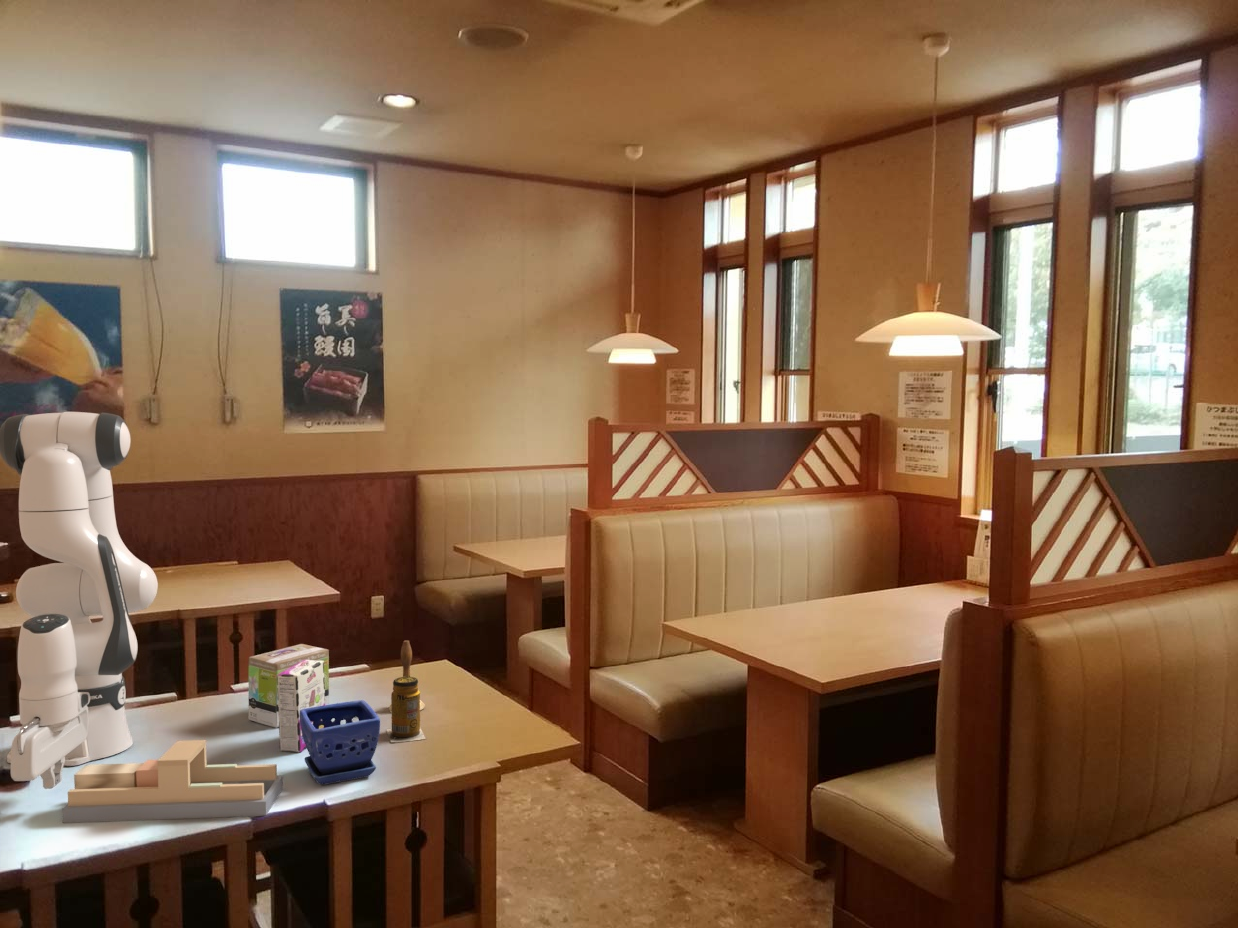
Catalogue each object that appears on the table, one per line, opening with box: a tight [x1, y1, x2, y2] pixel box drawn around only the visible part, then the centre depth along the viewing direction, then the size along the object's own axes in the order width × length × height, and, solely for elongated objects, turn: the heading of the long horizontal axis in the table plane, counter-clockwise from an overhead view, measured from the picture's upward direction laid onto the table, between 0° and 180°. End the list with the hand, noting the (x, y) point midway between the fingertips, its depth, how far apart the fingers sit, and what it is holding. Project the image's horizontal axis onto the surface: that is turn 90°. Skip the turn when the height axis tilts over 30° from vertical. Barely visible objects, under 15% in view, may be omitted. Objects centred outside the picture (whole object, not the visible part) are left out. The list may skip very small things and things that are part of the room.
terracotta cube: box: [136, 758, 160, 787], centre depth 170 cm, size 5×5×5 cm
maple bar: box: [73, 762, 145, 789], centre depth 169 cm, size 10×4×4 cm, turn 95°
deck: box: [61, 739, 284, 824], centre depth 170 cm, size 34×12×10 cm, turn 95°
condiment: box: [386, 676, 427, 743], centre depth 205 cm, size 7×8×12 cm
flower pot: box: [300, 699, 381, 785], centre depth 185 cm, size 13×13×12 cm
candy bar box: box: [277, 660, 325, 753], centre depth 200 cm, size 11×5×16 cm, turn 168°
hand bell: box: [388, 639, 426, 712], centre depth 223 cm, size 8×8×16 cm
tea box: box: [248, 643, 330, 729], centre depth 218 cm, size 15×10×15 cm
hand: (52, 785), depth 168 cm, fingers closed
